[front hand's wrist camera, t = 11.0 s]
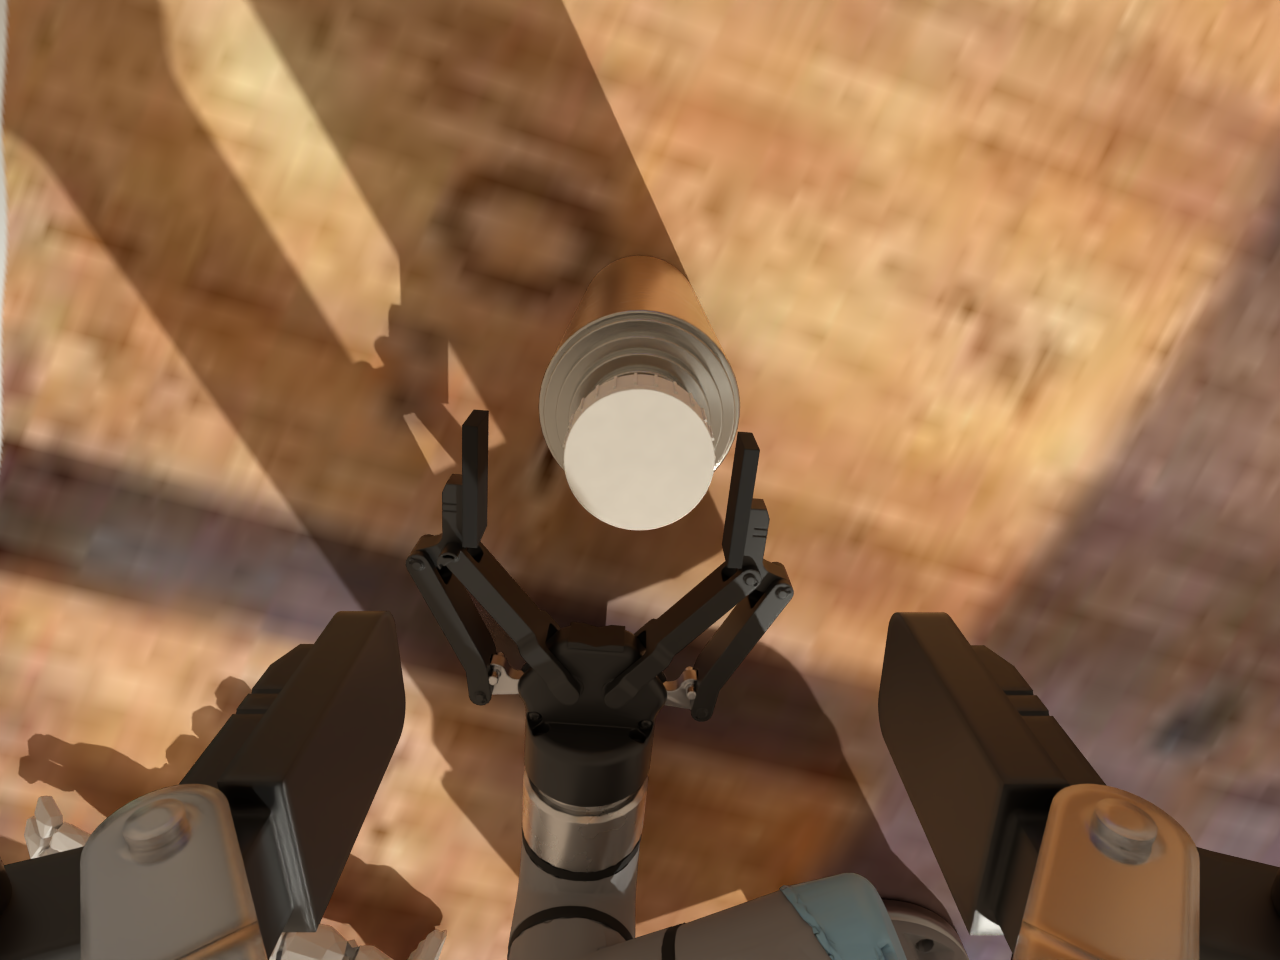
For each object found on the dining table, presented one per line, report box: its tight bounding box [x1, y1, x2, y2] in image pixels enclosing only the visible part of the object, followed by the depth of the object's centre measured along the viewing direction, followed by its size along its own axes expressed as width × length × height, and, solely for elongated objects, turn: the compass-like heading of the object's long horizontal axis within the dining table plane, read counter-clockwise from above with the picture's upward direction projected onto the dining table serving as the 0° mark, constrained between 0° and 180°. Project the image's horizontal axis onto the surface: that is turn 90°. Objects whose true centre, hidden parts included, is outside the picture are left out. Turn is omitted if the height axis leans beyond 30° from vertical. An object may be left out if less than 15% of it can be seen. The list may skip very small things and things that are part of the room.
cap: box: [563, 373, 716, 530], centre depth 20 cm, size 4×4×2 cm
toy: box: [24, 796, 447, 960], centre depth 54 cm, size 24×25×7 cm
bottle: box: [539, 255, 740, 472], centre depth 31 cm, size 6×6×23 cm
